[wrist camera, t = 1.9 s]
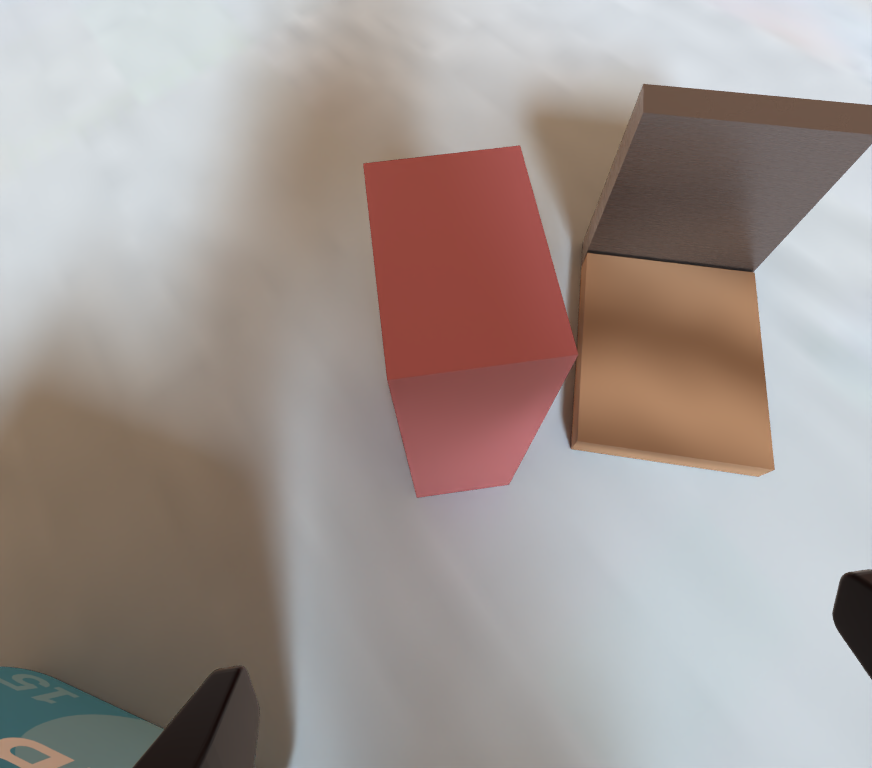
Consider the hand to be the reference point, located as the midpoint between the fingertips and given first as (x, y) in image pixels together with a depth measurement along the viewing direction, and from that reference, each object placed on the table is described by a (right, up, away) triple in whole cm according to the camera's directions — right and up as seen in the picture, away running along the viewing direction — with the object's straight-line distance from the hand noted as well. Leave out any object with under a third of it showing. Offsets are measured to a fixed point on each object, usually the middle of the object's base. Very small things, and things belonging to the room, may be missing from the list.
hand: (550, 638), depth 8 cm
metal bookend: (+10, +10, +19) cm, 24 cm away
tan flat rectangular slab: (+9, +4, +16) cm, 19 cm away
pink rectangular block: (-1, +2, +16) cm, 16 cm away
